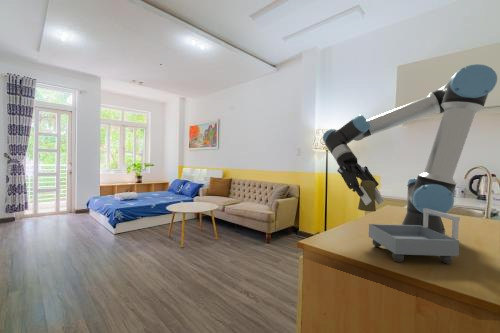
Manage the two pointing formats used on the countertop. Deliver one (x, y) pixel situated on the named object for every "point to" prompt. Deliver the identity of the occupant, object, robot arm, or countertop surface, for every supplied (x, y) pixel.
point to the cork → (369, 189)
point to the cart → (417, 238)
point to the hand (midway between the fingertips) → (375, 202)
